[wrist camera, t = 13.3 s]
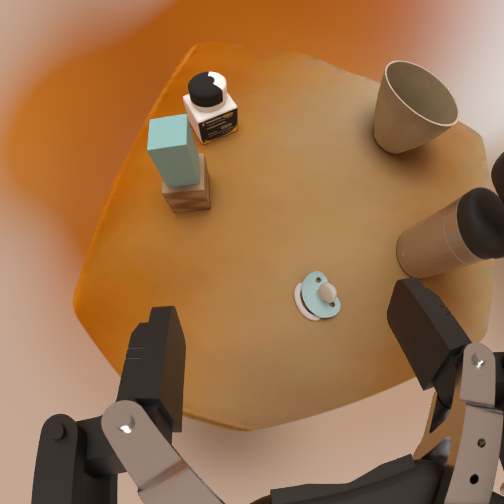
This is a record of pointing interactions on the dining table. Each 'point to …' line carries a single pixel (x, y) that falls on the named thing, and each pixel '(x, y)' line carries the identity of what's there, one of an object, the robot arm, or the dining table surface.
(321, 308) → the pacifier
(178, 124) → the pillar
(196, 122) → the medicine bottle
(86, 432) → the robot arm
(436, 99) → the plant pot
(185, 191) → the tower upper slab
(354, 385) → the dining table surface
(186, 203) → the tower base slab
